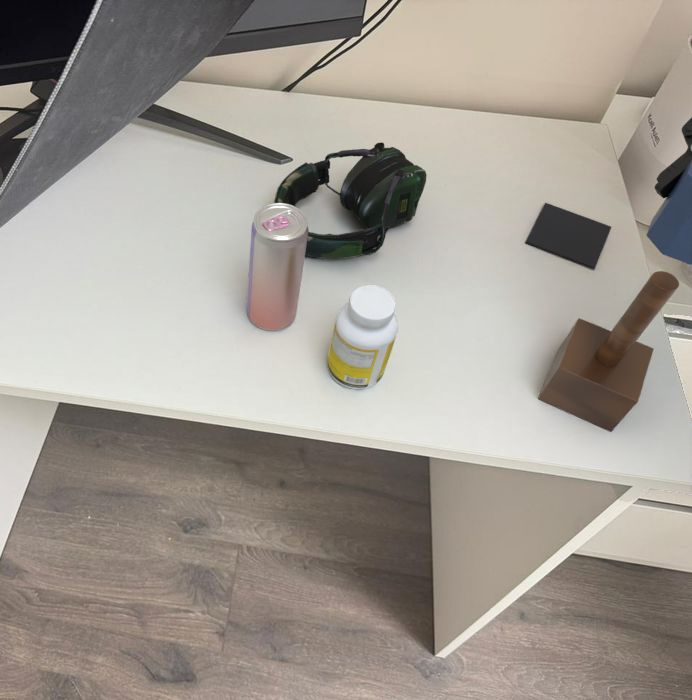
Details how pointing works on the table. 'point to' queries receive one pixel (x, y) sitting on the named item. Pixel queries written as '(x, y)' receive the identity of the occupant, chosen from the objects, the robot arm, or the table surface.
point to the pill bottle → (363, 337)
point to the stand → (607, 360)
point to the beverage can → (276, 265)
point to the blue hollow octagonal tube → (675, 221)
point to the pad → (569, 235)
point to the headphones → (360, 198)
